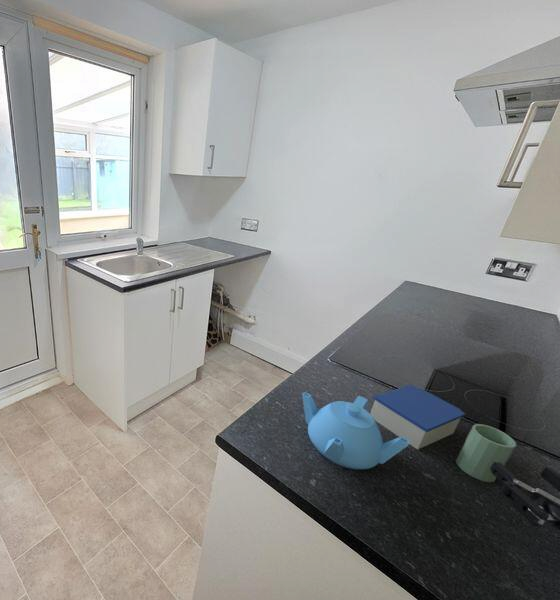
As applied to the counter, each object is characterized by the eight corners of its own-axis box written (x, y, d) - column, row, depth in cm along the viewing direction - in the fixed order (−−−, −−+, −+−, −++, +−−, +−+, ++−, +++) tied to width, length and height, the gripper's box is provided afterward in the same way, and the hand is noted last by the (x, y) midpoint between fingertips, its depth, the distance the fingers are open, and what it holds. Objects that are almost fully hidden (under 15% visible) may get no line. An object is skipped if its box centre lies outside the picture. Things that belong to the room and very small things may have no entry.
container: (406, 402, 84) (414, 383, 81) (458, 432, 74) (469, 412, 72) (367, 416, 77) (374, 396, 75) (418, 451, 68) (427, 429, 65)
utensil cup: (465, 454, 68) (482, 421, 64) (501, 476, 62) (522, 442, 59) (449, 462, 65) (466, 428, 62) (486, 486, 60) (507, 451, 57)
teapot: (401, 480, 60) (420, 437, 57) (324, 477, 60) (338, 433, 56) (355, 423, 75) (368, 386, 71) (293, 421, 74) (302, 383, 71)
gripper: (721, 562, 39) (572, 456, 54) (598, 547, 40) (485, 447, 55) (682, 597, 42) (551, 487, 57) (568, 583, 43) (468, 478, 58)
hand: (519, 468), depth 56 cm, fingers open, 8 cm apart
